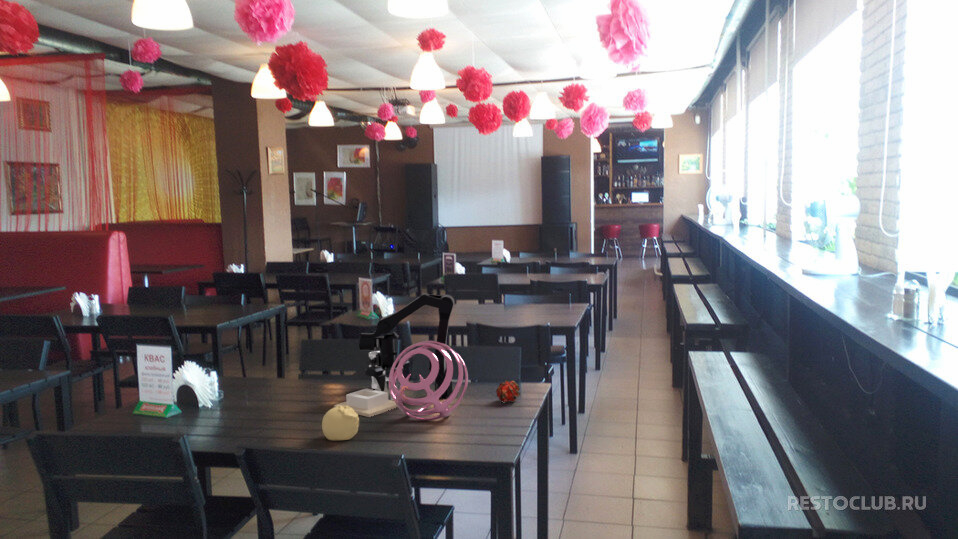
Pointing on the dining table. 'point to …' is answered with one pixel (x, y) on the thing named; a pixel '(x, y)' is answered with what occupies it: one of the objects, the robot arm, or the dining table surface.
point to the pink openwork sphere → (427, 382)
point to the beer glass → (374, 354)
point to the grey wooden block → (388, 387)
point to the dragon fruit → (508, 391)
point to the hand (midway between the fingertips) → (389, 389)
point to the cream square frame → (368, 402)
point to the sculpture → (340, 423)
